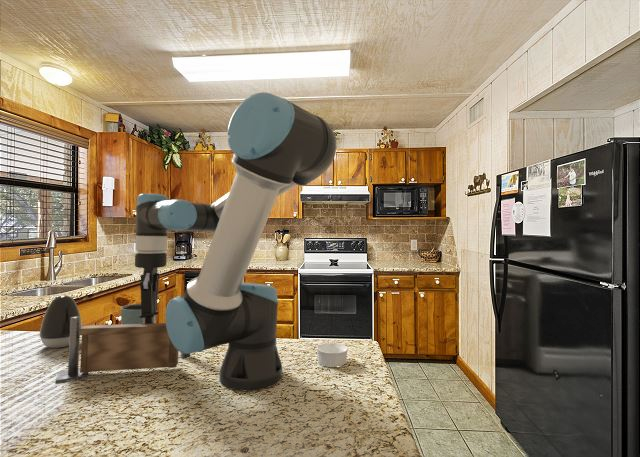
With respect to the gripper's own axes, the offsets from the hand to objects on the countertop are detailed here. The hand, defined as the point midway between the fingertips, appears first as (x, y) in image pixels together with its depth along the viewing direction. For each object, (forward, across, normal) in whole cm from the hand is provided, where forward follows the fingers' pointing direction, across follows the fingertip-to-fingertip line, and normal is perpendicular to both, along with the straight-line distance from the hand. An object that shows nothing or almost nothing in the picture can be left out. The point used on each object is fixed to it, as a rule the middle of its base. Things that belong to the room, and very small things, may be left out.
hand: (148, 340), depth 87 cm
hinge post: (+6, +3, -16) cm, 17 cm away
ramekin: (+7, +10, +48) cm, 50 cm away
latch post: (+7, -4, +9) cm, 12 cm away
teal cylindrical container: (+7, -19, -6) cm, 21 cm away
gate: (+5, +4, -3) cm, 7 cm away
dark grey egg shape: (+7, -23, -28) cm, 37 cm away
